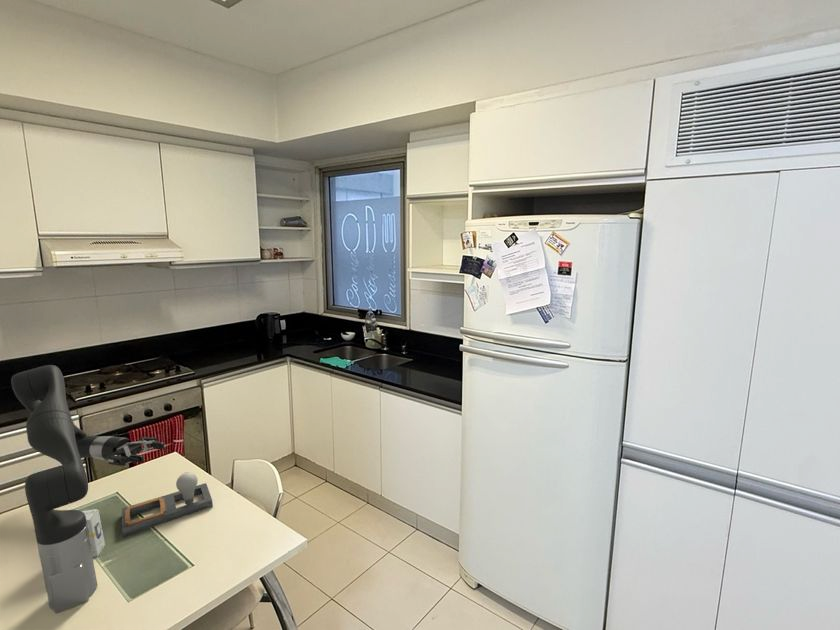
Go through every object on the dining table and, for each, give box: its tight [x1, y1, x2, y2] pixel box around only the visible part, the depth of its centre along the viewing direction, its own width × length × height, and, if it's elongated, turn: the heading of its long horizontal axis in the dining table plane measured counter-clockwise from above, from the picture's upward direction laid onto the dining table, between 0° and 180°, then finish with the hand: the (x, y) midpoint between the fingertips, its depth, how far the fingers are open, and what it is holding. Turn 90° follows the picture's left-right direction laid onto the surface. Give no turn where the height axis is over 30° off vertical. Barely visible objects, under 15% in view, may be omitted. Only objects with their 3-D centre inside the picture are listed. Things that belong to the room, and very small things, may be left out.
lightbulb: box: [175, 471, 199, 505], centre depth 138 cm, size 6×6×11 cm
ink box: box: [81, 508, 106, 558], centre depth 117 cm, size 9×5×12 cm, turn 105°
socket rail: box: [121, 482, 214, 538], centre depth 136 cm, size 12×24×3 cm, turn 125°
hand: (153, 452), depth 138 cm, fingers open, 8 cm apart
